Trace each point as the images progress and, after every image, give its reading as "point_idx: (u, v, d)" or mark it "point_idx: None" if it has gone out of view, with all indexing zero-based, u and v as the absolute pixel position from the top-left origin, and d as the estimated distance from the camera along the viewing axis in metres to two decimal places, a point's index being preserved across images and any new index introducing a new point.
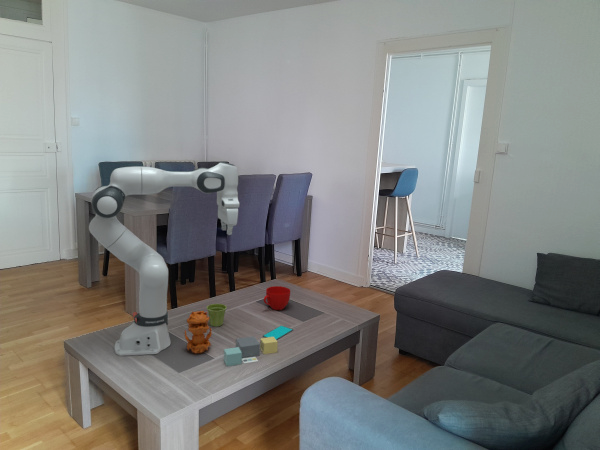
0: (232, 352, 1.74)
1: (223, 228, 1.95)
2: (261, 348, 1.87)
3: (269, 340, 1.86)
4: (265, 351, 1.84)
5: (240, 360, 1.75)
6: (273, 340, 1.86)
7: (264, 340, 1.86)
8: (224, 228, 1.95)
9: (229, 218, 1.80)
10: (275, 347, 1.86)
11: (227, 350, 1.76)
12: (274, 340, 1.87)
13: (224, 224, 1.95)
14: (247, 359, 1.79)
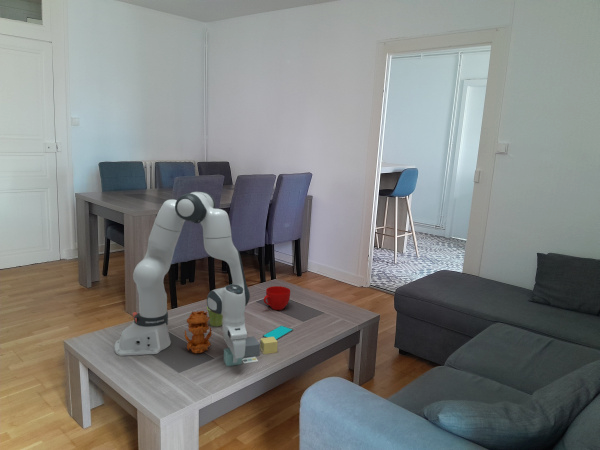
0: None
1: None
2: (261, 348, 1.87)
3: (269, 340, 1.86)
4: (265, 351, 1.84)
5: (240, 360, 1.75)
6: (273, 340, 1.86)
7: (264, 340, 1.86)
8: None
9: (236, 351, 1.65)
10: (275, 347, 1.86)
11: (227, 350, 1.76)
12: (274, 340, 1.87)
13: None
14: (247, 359, 1.79)
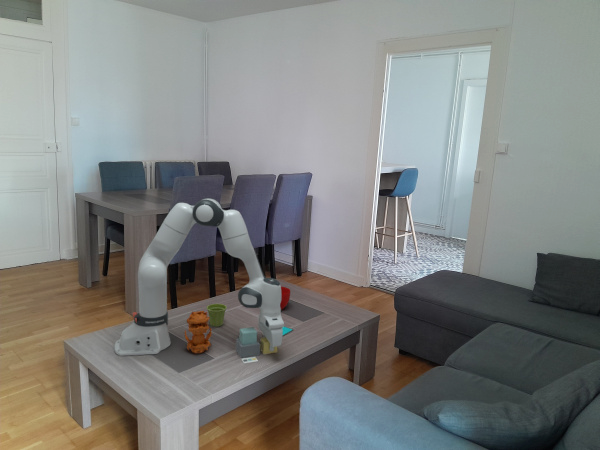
0: (248, 331, 1.82)
1: None
2: (261, 348, 1.87)
3: None
4: (265, 351, 1.84)
5: (255, 339, 1.83)
6: None
7: (264, 340, 1.86)
8: None
9: (274, 340, 1.77)
10: (275, 347, 1.86)
11: (242, 330, 1.83)
12: None
13: None
14: (247, 359, 1.79)
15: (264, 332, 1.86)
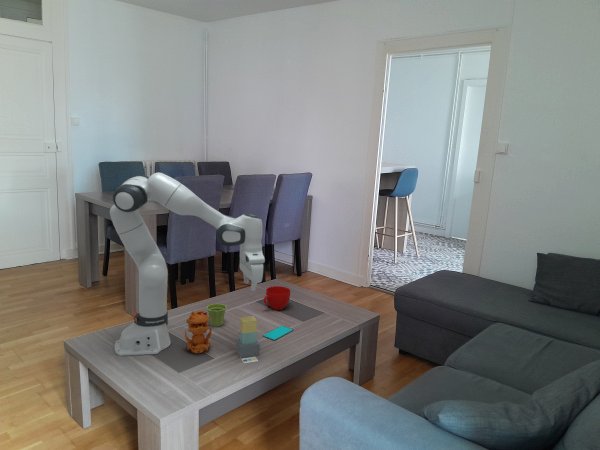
0: None
1: (246, 281, 1.83)
2: (240, 327, 1.82)
3: (248, 319, 1.82)
4: (244, 330, 1.80)
5: (255, 339, 1.83)
6: (252, 319, 1.82)
7: (243, 319, 1.82)
8: (247, 281, 1.83)
9: (254, 275, 1.69)
10: (254, 326, 1.81)
11: None
12: (254, 319, 1.82)
13: (246, 277, 1.84)
14: (247, 359, 1.79)
15: (245, 270, 1.79)
